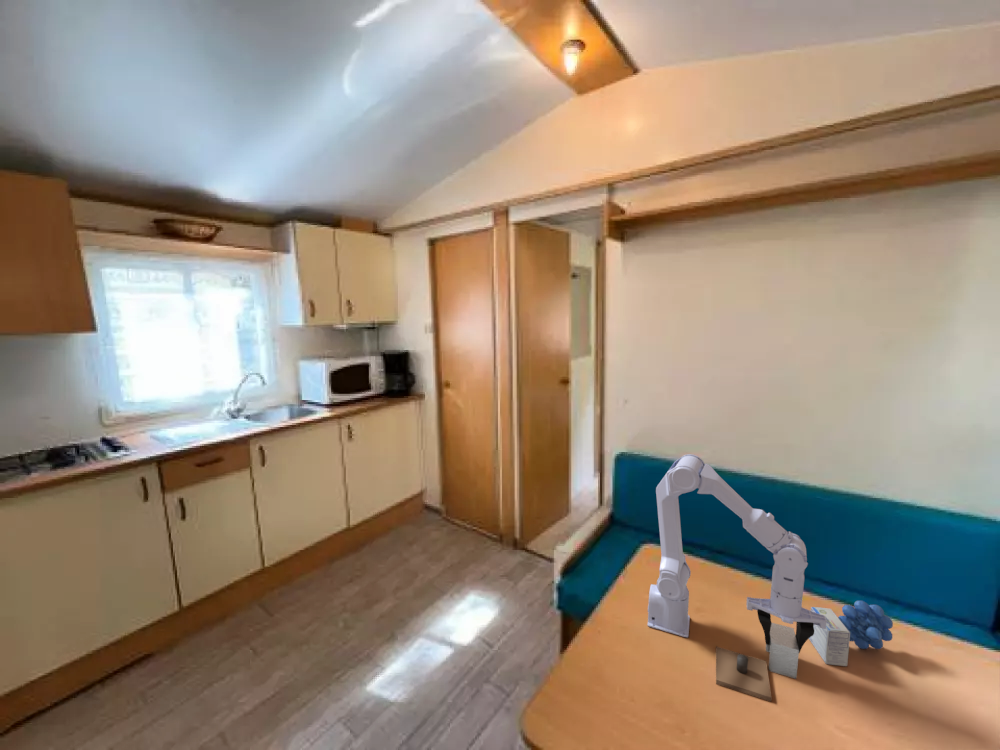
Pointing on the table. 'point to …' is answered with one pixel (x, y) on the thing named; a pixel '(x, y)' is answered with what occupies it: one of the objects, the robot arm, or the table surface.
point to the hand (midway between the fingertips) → (781, 645)
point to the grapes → (866, 624)
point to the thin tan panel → (742, 673)
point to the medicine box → (831, 638)
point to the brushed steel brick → (783, 651)
